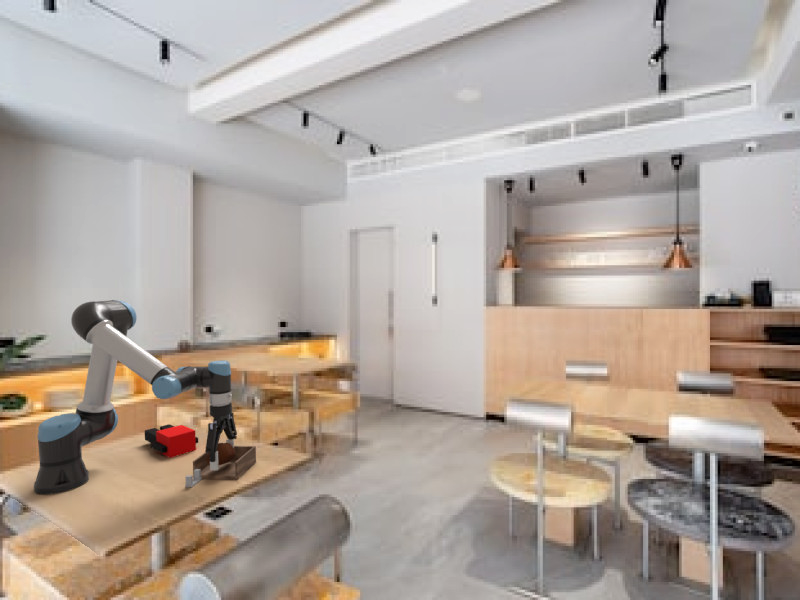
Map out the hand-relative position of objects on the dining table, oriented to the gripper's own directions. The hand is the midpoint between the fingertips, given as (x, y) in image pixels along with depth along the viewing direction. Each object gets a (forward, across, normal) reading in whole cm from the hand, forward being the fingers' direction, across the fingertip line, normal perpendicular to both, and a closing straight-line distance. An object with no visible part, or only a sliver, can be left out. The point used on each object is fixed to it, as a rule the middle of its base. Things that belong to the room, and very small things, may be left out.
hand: (222, 463), depth 159 cm
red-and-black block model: (+4, +23, +36) cm, 43 cm away
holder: (+3, +2, 0) cm, 4 cm away
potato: (0, 0, 0) cm, 1 cm away
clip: (+3, -9, +6) cm, 11 cm away
